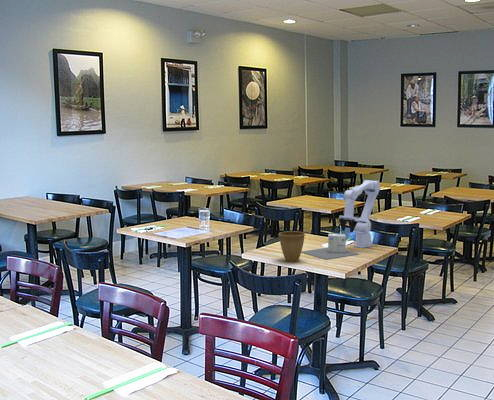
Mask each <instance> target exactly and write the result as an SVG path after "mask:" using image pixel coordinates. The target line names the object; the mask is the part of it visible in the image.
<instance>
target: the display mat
mask: <svg viewBox="0 0 494 400" xmlns="http://www.w3.org/2000/svg"><path fill="white" fill-rule="evenodd" d="M301 254H306V255H310V256H311V257H312V256H313V257H315V258H319V259H322V260H326V261H328V260H333V259H334V260H335V259H340V258H346V257H352V256H358V255H360V253H358V252H353V251H349V250H346V253H338V252H328V247H322V248H317V249H316V248H315V249H310V250H302V251H301Z"/></svg>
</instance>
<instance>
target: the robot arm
mask: <svg viewBox="0 0 494 400" xmlns="http://www.w3.org/2000/svg"><path fill="white" fill-rule="evenodd" d="M380 189H381V183H380V180H371V179H370V180H368V179H364V180H363V182H362V184H360V185H355V186H354V187H351V189H347V190H345V191H344V193H343V199H344V213H343V215H339V217H338V222H339V224H340V229H341V231H346V225H347V223H349V233H354V232H355V244H353V245H352V247H357V248H359V249H363V248H365V249H366V248H370V247H372V235H371V233H370V231H371V229H372V228H371V227H372V223H371V221H370V220H369V219H370V217H371V213H372V211H373V208H374V206H375V203H376V202H375V201H376V199H377V196H378V195H379V192H380ZM363 191H364V193H365V194H366V195H367V198H366V201H365V204H364V207H363V210H362V212H361V215H360V217H356V216H354V211H355V202H356V200H357V198H358V196H360V195H361V194H363Z"/></svg>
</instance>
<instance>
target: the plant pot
mask: <svg viewBox="0 0 494 400" xmlns="http://www.w3.org/2000/svg"><path fill="white" fill-rule="evenodd" d="M305 234H306V233H305V232H303V231H296V230H295V231H294V230H289V231H281V232H279V233H278V237H279V242H280V243H279V244H280V248H281V252H282V254H283V257H284V260H285V262H289V263H291V262H292V263H295V262H299V259H300V257H301V255H302V253H301V251H303V247H304V242H305V236H306V235H305Z"/></svg>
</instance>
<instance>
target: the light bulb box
mask: <svg viewBox="0 0 494 400" xmlns="http://www.w3.org/2000/svg"><path fill="white" fill-rule="evenodd" d="M327 237H328V238H327V248H328V252H338V253H346V251H347V249H346V248H347V244H346V242H347V241H346V240H347V237H346V233H328V236H327Z"/></svg>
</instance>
